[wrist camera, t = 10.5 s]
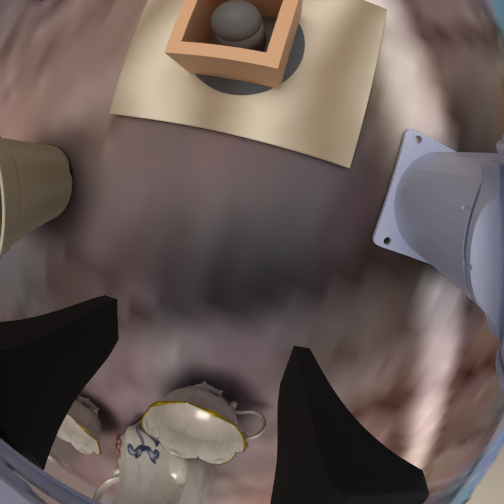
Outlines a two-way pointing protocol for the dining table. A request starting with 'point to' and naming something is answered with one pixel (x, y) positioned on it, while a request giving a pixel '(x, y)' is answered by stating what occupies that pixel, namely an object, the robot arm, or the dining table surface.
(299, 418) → the robot arm
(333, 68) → the post plate
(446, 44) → the dining table surface
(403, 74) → the dining table surface
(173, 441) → the chinaware
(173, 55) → the collar
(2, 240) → the flower pot
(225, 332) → the dining table surface
